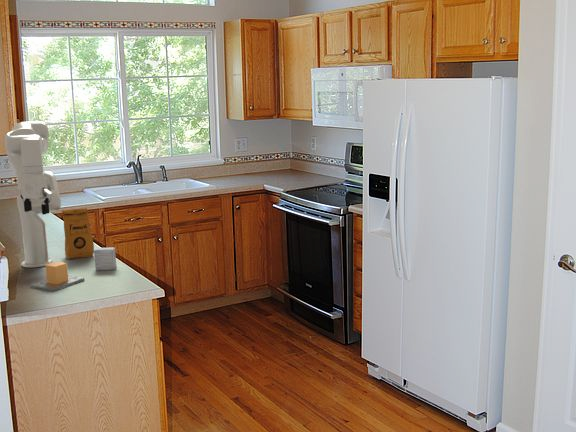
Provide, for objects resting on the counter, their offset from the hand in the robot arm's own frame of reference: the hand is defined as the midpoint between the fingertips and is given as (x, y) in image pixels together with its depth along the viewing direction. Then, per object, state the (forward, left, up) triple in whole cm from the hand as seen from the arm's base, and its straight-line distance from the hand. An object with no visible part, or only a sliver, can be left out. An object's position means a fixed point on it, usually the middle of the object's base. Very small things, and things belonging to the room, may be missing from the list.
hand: (37, 212), depth 276 cm
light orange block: (+11, +7, -26) cm, 29 cm away
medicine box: (-7, +24, -27) cm, 37 cm away
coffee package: (-31, +11, -27) cm, 42 cm away
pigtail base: (+11, +7, -27) cm, 30 cm away
